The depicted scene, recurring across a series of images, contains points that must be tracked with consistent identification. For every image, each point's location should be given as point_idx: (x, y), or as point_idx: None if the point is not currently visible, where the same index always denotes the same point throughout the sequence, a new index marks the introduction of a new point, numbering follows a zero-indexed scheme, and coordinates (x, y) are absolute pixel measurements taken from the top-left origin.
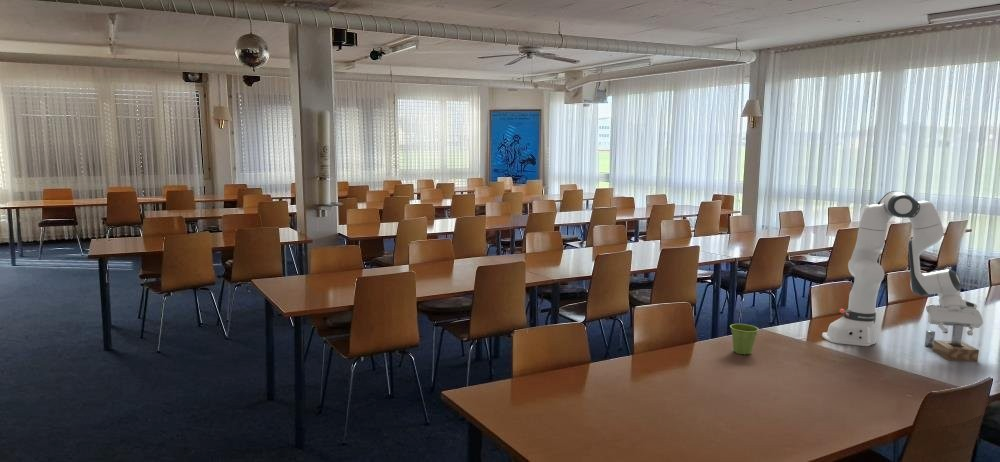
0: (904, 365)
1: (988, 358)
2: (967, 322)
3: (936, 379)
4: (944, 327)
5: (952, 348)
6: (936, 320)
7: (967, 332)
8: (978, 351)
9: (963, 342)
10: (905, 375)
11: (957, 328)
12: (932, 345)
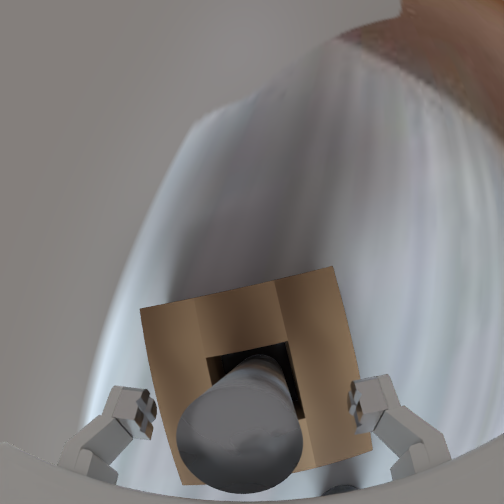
0: (466, 144)
1: (102, 386)
2: (103, 490)
3: (378, 58)
4: (392, 413)
5: (306, 283)
6: (492, 443)
7: (149, 425)
8: (145, 308)
9: (183, 466)
10: (443, 74)
11: (263, 384)
12: (333, 493)
